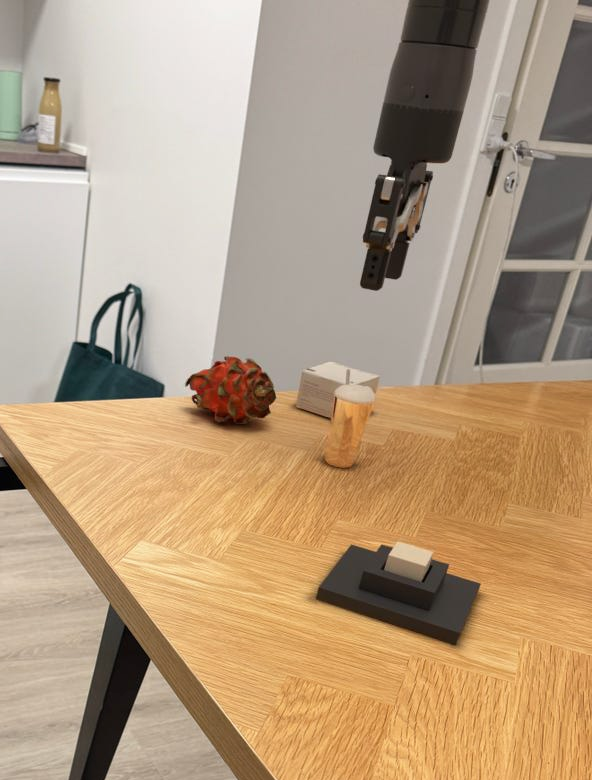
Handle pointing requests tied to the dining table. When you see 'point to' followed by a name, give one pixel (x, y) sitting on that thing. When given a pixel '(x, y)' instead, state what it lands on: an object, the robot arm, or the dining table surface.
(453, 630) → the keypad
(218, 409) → the dragon fruit
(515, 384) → the dining table surface
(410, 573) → the beige square block
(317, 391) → the small box
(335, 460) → the milkshake
